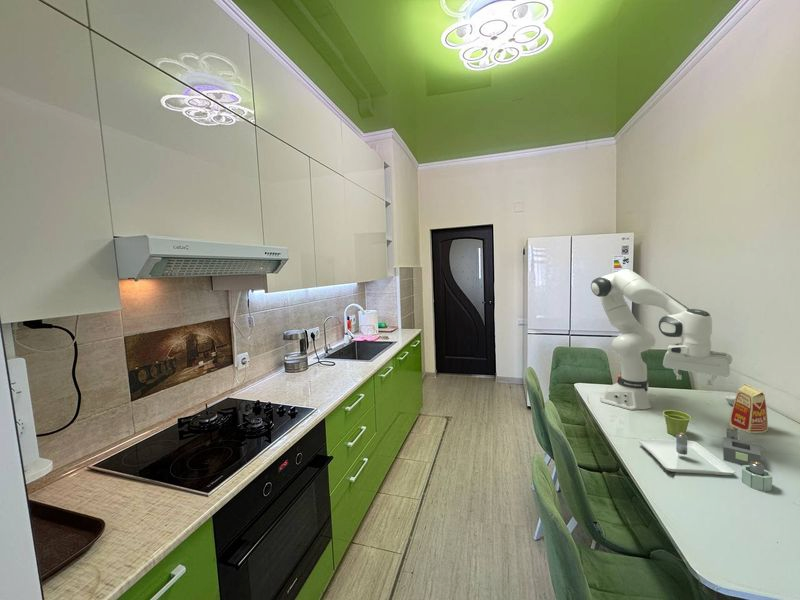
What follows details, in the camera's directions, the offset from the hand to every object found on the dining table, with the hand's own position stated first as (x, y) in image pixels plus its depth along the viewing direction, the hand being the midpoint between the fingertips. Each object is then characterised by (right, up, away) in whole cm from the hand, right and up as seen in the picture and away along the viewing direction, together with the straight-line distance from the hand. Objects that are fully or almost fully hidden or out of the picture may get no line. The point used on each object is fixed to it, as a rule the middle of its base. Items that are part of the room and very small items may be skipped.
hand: (694, 382), depth 133 cm
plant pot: (0, -25, +9) cm, 27 cm away
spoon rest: (+47, -21, +25) cm, 57 cm away
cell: (-13, -25, -9) cm, 29 cm away
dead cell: (-3, -28, -26) cm, 38 cm away
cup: (-3, -28, -26) cm, 38 cm away
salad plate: (-13, -28, -10) cm, 33 cm away
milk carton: (+33, -23, +9) cm, 41 cm away
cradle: (+6, -26, -12) cm, 30 cm away
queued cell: (+13, -25, -3) cm, 28 cm away
